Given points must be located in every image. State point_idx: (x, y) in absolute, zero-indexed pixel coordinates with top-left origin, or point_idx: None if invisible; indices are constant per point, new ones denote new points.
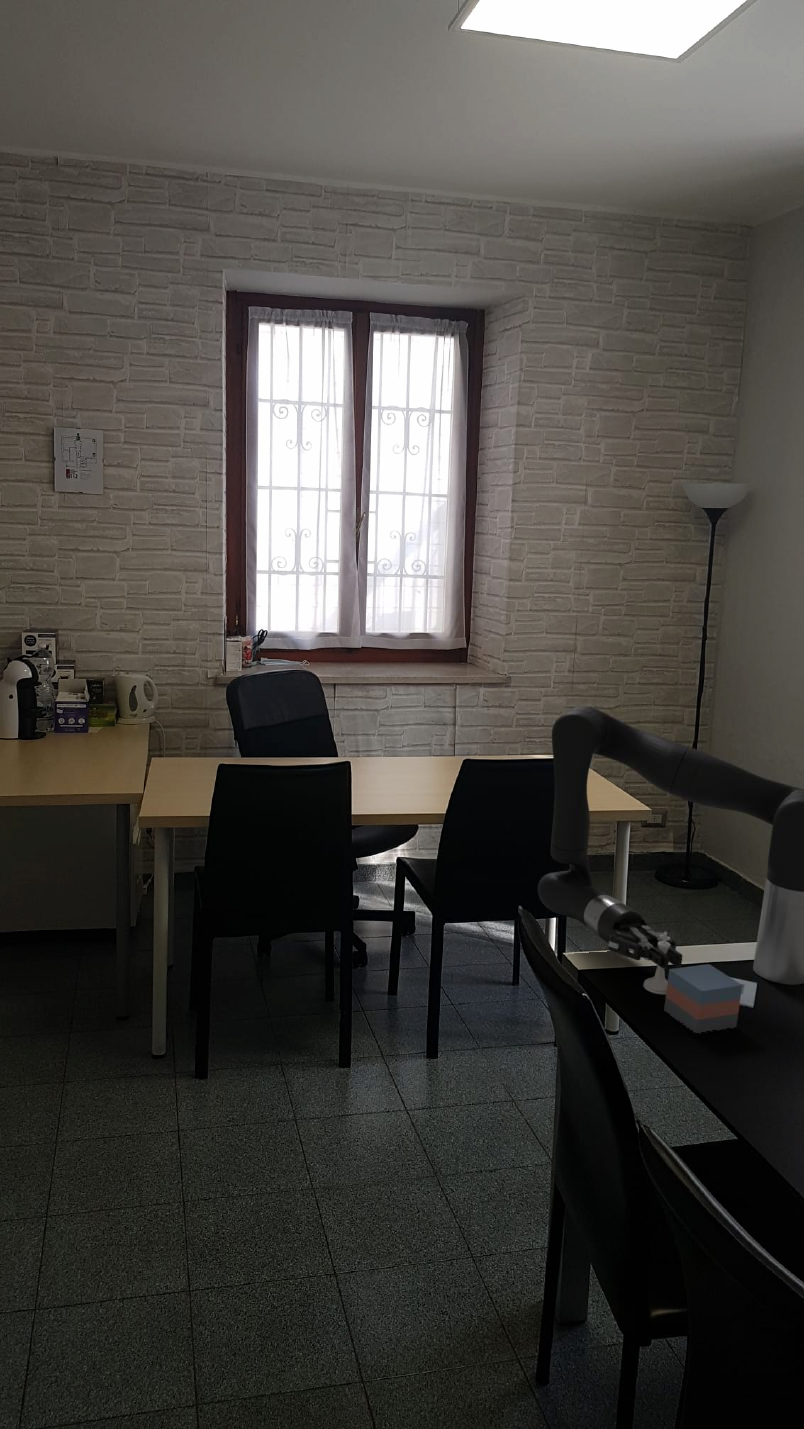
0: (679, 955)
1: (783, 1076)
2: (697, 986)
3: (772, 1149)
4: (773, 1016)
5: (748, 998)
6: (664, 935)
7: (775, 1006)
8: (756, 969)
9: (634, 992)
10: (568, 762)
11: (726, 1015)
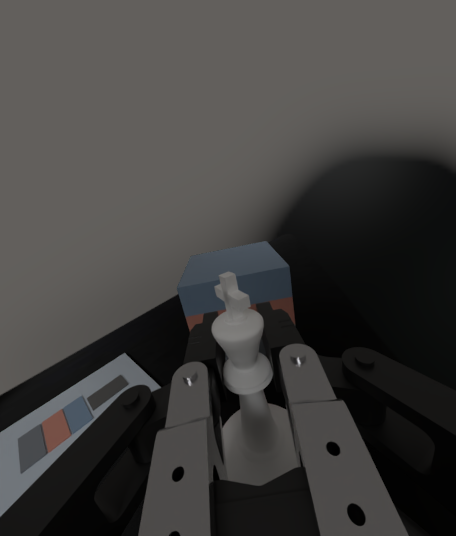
0: (213, 312)
1: None
2: (264, 245)
3: (289, 236)
4: (126, 336)
5: (98, 376)
6: (235, 282)
7: (85, 360)
8: None
9: None
10: None
11: None
